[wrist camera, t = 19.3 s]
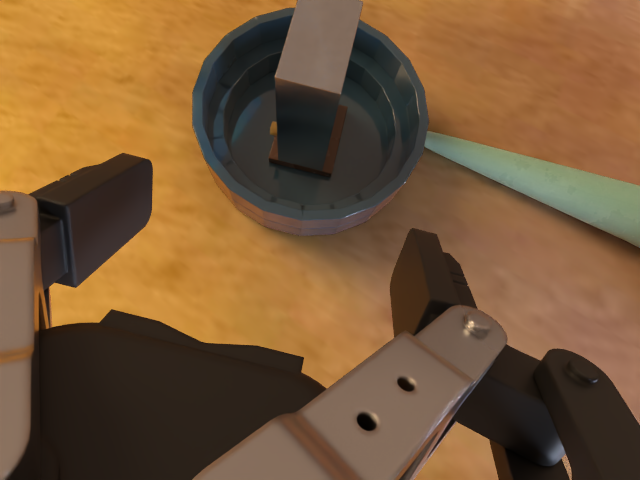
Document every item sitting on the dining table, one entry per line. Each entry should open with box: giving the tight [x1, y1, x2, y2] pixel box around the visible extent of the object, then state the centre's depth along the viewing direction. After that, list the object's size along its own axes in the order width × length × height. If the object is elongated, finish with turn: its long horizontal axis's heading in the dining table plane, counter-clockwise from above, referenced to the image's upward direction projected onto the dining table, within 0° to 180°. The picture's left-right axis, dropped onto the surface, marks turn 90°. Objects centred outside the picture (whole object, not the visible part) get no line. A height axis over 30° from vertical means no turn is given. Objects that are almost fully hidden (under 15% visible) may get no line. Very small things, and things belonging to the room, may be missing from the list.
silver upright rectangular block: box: [268, 0, 363, 177], centre depth 26 cm, size 6×5×11 cm
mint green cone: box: [424, 131, 640, 248], centre depth 30 cm, size 5×6×27 cm
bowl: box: [192, 8, 429, 236], centre depth 29 cm, size 16×16×5 cm
